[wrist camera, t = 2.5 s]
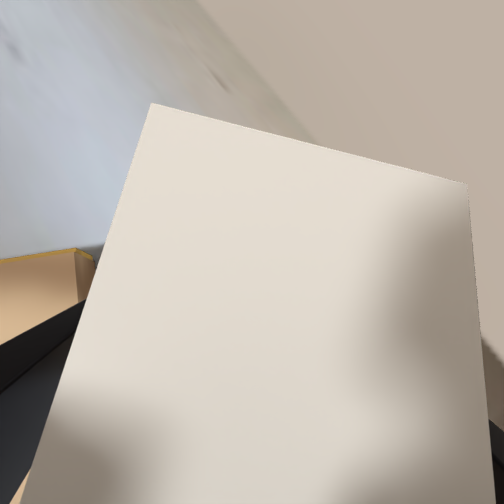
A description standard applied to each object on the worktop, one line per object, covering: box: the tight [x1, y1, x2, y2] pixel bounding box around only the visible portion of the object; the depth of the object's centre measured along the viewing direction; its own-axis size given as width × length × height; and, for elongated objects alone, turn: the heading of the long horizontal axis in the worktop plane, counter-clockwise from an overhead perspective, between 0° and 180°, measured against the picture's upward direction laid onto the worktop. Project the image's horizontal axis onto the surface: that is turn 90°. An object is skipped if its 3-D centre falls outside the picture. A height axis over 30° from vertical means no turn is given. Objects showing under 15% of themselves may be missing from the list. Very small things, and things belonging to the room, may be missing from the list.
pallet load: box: [19, 103, 496, 504], centre depth 10 cm, size 6×6×13 cm
